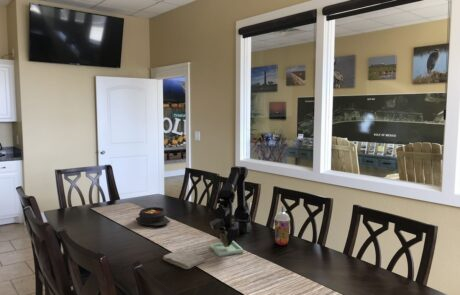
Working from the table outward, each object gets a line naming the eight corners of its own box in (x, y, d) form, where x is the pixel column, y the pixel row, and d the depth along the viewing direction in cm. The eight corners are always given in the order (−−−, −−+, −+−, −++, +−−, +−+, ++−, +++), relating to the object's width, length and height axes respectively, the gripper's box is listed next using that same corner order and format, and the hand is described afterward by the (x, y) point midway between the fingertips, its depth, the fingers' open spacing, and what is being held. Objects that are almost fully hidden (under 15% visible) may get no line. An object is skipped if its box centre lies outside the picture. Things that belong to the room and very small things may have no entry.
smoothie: (277, 246, 192) (278, 209, 190) (271, 241, 200) (272, 205, 198) (292, 245, 194) (293, 208, 192) (285, 240, 202) (286, 204, 200)
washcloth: (179, 253, 184) (179, 247, 184) (205, 262, 173) (205, 256, 173) (161, 260, 175) (161, 254, 175) (187, 271, 164) (187, 264, 164)
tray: (210, 247, 191) (210, 243, 191) (233, 244, 196) (233, 240, 196) (218, 256, 179) (218, 253, 179) (243, 252, 184) (243, 249, 184)
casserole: (177, 223, 231) (176, 210, 230) (153, 231, 217) (152, 217, 216) (152, 216, 247) (152, 203, 246) (128, 222, 233) (128, 209, 232)
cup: (233, 243, 191) (233, 228, 190) (234, 249, 184) (234, 233, 183) (219, 243, 191) (219, 228, 190) (219, 249, 183) (219, 233, 183)
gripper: (205, 210, 191) (205, 239, 193) (217, 220, 174) (218, 252, 175) (225, 208, 195) (225, 236, 197) (239, 217, 178) (239, 248, 180)
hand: (226, 243), depth 187 cm, fingers closed on cup, 6 cm apart
